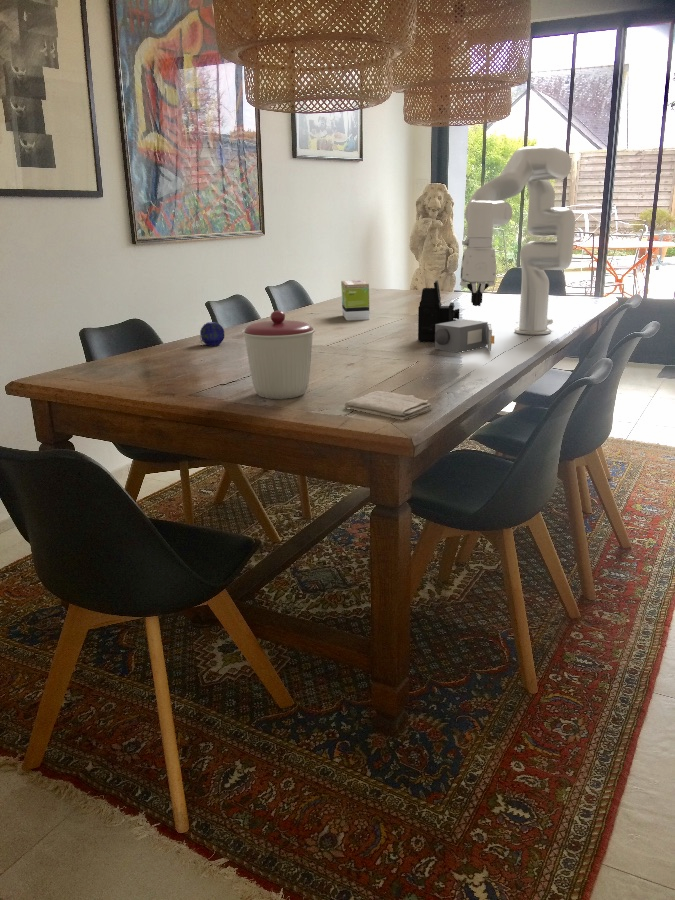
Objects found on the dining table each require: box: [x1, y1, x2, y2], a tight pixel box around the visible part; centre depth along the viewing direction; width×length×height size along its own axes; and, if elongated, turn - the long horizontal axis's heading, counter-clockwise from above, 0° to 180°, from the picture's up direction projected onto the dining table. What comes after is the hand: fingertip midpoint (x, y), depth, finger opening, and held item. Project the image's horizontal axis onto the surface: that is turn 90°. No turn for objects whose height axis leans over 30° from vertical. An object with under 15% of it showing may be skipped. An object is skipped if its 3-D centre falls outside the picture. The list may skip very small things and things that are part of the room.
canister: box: [241, 310, 316, 400], centre depth 186 cm, size 18×18×21 cm
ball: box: [199, 321, 225, 347], centre depth 258 cm, size 8×8×8 cm
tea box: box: [340, 279, 371, 321], centre depth 311 cm, size 15×10×15 cm
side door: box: [486, 323, 495, 352], centre depth 237 cm, size 12×2×6 cm, turn 172°
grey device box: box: [434, 318, 489, 353], centre depth 242 cm, size 15×10×8 cm
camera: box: [417, 280, 460, 343], centre depth 254 cm, size 10×14×20 cm
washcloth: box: [344, 390, 433, 421], centre depth 174 cm, size 12×18×3 cm, turn 51°
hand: (476, 305), depth 231 cm, fingers closed
